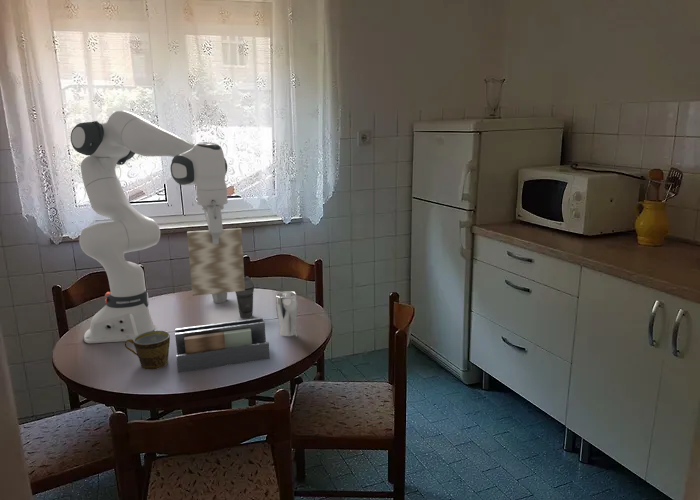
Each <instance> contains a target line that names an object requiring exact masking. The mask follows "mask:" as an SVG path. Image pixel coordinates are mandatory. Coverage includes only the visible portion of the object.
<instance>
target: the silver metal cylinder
mask: <svg viewBox="0 0 700 500" xmlns="http://www.w3.org/2000/svg"><path fill="white" fill-rule="evenodd" d="M297 298H298V297H297V293H296V292H295V291H292V290H291V291H290V290H289V291H288V290H286V291H281V292H277V293H276V295H275V309H276V316H277V319H278V323H279V336H281V337H291V336H293V337H294V336H295V337H297V338H298V332H297V316H298V300H297Z"/></svg>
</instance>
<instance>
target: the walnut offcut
mask: <svg viewBox="0 0 700 500" xmlns="http://www.w3.org/2000/svg"><path fill="white" fill-rule="evenodd" d="M184 341H185V351H186V354H187V353H194V352H201V351H208V350H215V349H222V348H225V339H224V332H219V333H212V334H204V335H197V336H189V337H184Z"/></svg>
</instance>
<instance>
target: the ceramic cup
mask: <svg viewBox="0 0 700 500" xmlns="http://www.w3.org/2000/svg"><path fill="white" fill-rule="evenodd" d="M170 334H171V333H170V332H168V331H166V330H165V331H164V330H153V331H150V332H145V333H142V334H140V335H138V336H136V337H135V338H134V339H133V340H132V339H129V340H127V341H124V346H125V347H124V348H126V349H127V350H129V351H130V352H131V353H133V354H134V355H135V356H137V357H138V360H139V363H140V366H141V368H142V369H144V370H145V371H146V370H147V371H148V370H150V371H152V370H154V371H155V370H159V369H161V368H163V367H166V365H167V364H168V363H169V351H170V350H169V349H170V344H171V343H170V342H171V335H170ZM127 343H131V344H133V346H134V349H135V351H134V350H133V349H131V348H130V347H128V345H127Z"/></svg>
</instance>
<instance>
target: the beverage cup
mask: <svg viewBox="0 0 700 500" xmlns="http://www.w3.org/2000/svg"><path fill="white" fill-rule="evenodd" d="M244 283H245V291H236V292H235V295H236V301H237V302H236V303H237V307H238V313H239V317H240V319H241V320H242V319H243V320H248V319H252V317H253V315H254V314H253V312H254V292H255V291H254V289H255V285H254V281H253V279H252V278H251V277H249V276H247V275H244Z"/></svg>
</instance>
